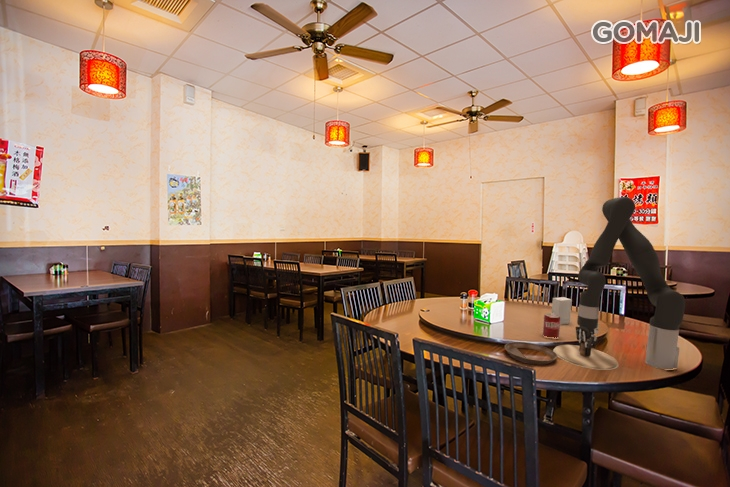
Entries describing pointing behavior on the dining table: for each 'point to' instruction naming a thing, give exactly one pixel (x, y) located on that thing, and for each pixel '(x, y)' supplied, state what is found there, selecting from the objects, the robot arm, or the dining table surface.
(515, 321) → the dining table surface
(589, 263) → the robot arm
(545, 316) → the soda can
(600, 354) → the lid
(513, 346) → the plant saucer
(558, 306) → the skincare box
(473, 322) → the dining table surface
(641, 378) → the dining table surface
